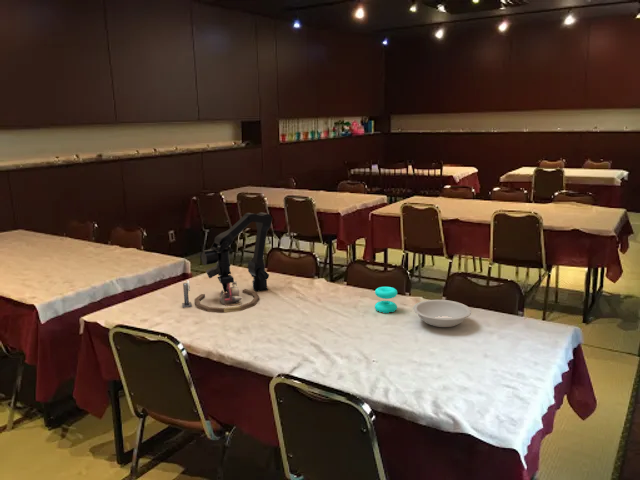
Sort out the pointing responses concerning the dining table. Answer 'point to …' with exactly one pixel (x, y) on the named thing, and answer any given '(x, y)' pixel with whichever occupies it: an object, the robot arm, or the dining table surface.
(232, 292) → the brake caliper
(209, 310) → the bent brown bar
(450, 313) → the soup bowl
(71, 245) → the dining table surface
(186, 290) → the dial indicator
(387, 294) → the donuts
